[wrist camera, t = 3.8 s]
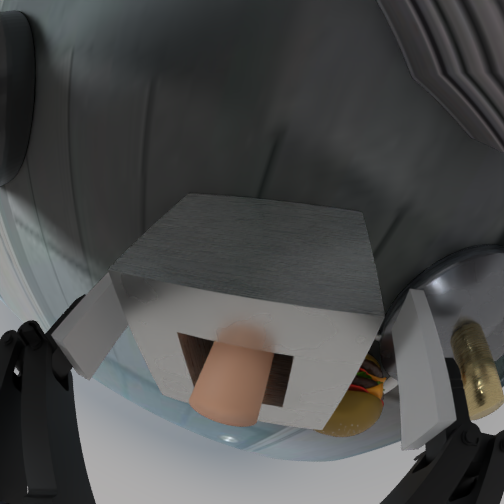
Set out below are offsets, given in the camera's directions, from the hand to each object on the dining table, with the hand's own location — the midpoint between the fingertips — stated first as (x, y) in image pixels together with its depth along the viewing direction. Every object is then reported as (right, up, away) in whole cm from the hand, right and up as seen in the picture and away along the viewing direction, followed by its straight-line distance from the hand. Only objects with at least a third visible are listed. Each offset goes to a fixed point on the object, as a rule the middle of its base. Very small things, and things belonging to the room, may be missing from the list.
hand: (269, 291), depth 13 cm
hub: (+12, -2, -1) cm, 12 cm away
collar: (0, +1, +1) cm, 1 cm away
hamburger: (+6, -6, +4) cm, 9 cm away
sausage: (0, +1, +1) cm, 1 cm away
